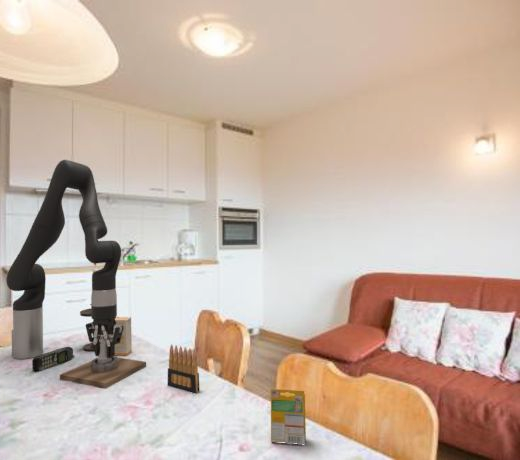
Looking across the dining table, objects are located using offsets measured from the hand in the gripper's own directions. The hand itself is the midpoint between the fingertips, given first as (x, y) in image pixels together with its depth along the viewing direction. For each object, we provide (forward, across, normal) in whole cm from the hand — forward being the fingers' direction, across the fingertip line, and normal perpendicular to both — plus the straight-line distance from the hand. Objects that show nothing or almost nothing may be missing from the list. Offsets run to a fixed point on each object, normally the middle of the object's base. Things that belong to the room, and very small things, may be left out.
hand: (104, 356), depth 117 cm
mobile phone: (+6, -21, 0) cm, 22 cm away
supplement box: (+6, -9, +16) cm, 19 cm away
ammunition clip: (+5, +30, -1) cm, 31 cm away
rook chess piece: (+2, 0, 0) cm, 2 cm away
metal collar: (+4, 0, 0) cm, 4 cm away
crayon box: (+5, +66, -15) cm, 68 cm away
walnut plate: (+5, 0, 0) cm, 5 cm away
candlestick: (+5, -22, +18) cm, 29 cm away
